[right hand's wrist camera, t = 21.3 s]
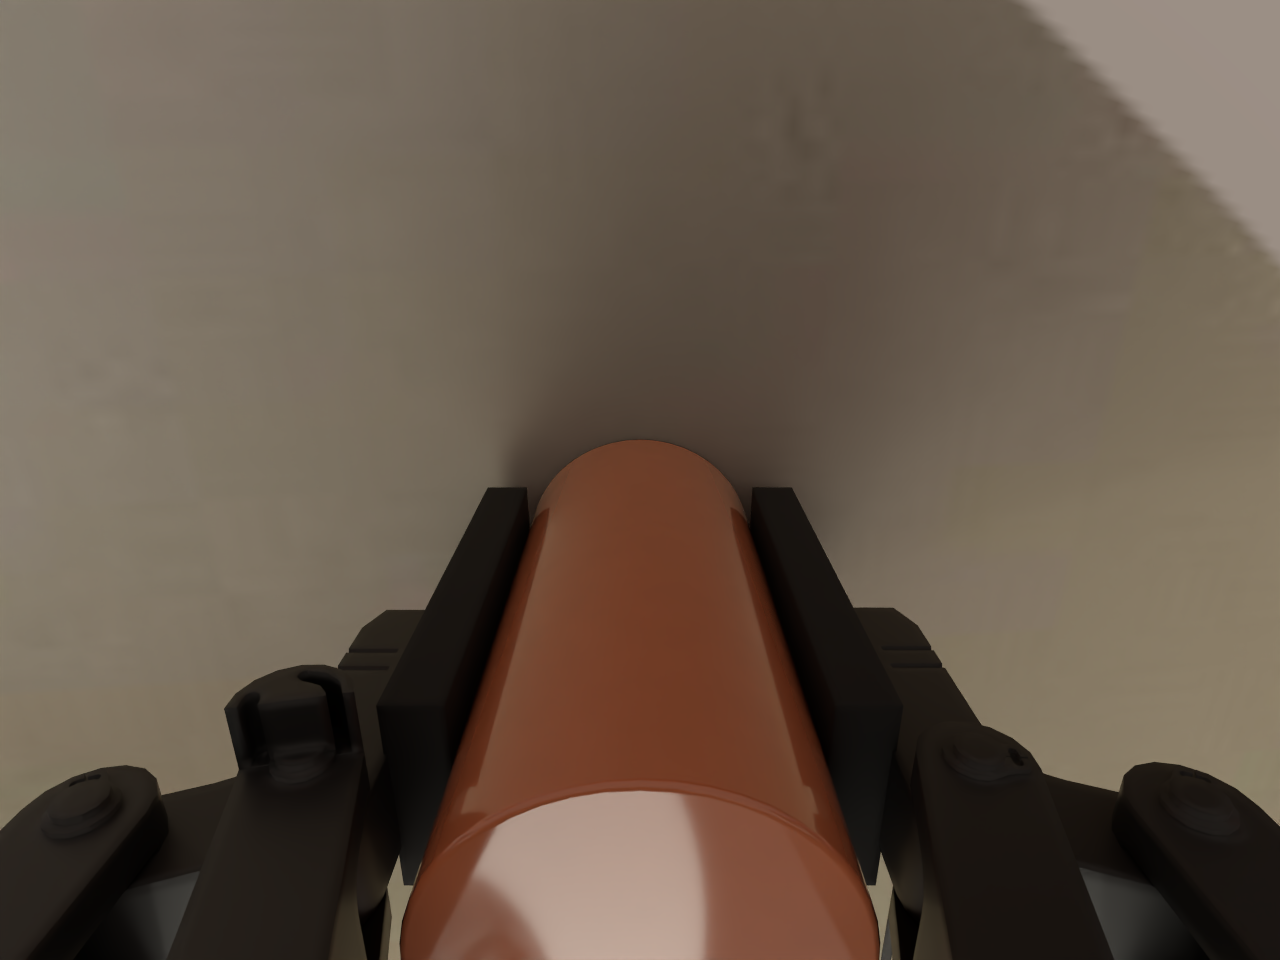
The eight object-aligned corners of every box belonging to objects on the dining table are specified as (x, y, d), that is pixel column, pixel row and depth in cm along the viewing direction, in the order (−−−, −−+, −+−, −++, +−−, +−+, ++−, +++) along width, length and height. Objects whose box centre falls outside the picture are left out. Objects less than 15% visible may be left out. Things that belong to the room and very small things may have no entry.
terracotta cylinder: (742, 633, 16) (855, 1122, 8) (537, 633, 16) (423, 1123, 8) (753, 438, 14) (913, 784, 6) (526, 438, 14) (366, 784, 6)
